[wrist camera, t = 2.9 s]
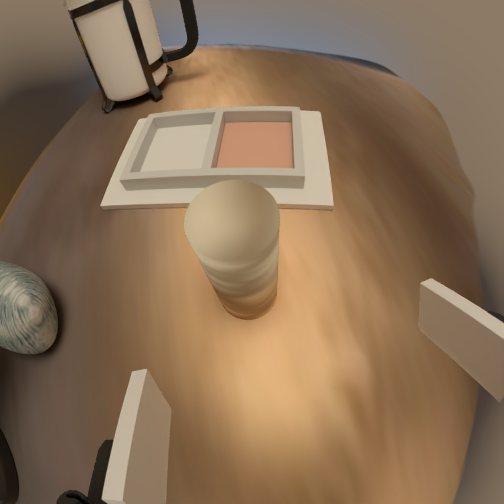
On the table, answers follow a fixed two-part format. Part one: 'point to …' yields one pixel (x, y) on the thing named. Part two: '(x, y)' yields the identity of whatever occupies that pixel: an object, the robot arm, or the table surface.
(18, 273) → the yarn ball
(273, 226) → the peg
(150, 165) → the white flat tray
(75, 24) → the coffee press
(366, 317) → the table surface
